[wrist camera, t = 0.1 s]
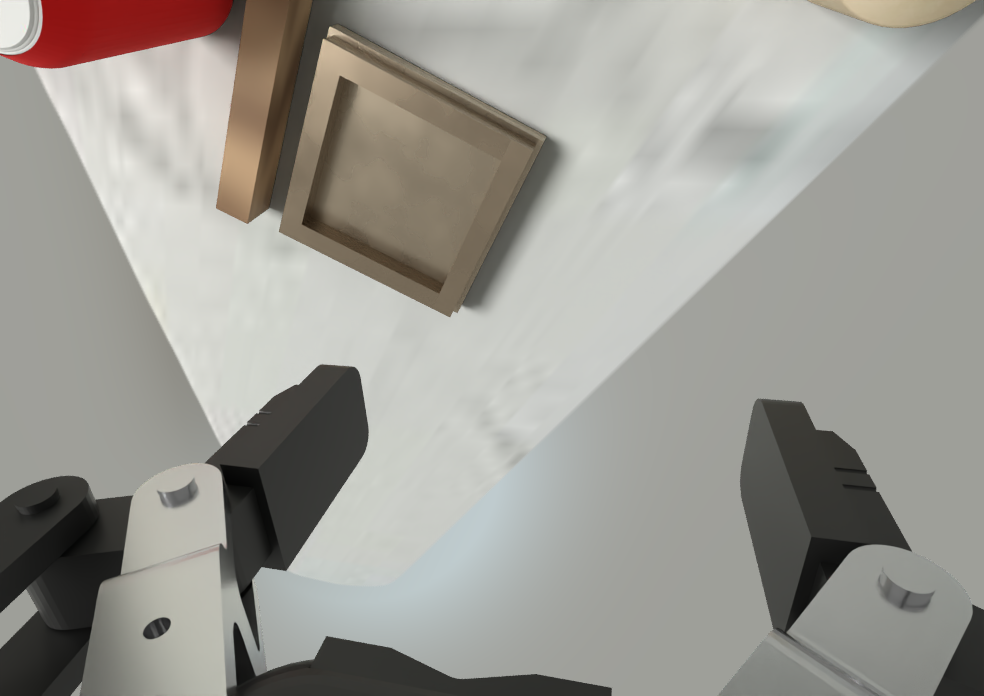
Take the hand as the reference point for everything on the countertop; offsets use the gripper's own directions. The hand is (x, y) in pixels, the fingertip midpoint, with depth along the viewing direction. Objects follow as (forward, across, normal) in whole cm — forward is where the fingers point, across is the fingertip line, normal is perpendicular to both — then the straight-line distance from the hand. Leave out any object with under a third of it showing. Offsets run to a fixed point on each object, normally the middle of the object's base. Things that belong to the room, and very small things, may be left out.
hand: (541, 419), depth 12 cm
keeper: (+22, +11, 0) cm, 25 cm away
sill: (+22, +18, -5) cm, 29 cm away
